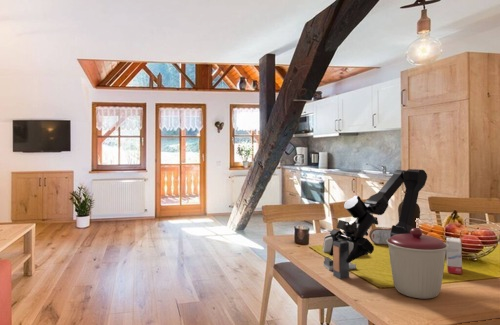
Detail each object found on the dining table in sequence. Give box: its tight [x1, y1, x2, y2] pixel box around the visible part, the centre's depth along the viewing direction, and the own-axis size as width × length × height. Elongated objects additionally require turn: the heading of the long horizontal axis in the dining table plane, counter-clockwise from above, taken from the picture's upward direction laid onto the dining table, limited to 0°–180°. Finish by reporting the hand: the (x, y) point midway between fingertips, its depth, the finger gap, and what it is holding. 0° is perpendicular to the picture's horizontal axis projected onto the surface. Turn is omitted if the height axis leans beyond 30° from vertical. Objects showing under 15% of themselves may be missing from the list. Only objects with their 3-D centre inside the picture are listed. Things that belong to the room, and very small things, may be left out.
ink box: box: [445, 237, 463, 275], centre depth 131 cm, size 9×5×12 cm, turn 150°
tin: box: [368, 226, 392, 246], centre depth 170 cm, size 15×3×8 cm, turn 76°
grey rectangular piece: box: [323, 256, 357, 272], centre depth 137 cm, size 11×6×4 cm, turn 98°
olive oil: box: [397, 200, 421, 228], centre depth 181 cm, size 11×11×25 cm
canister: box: [386, 227, 449, 300], centre depth 111 cm, size 18×18×21 cm
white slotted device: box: [322, 232, 354, 254], centre depth 158 cm, size 17×5×10 cm, turn 81°
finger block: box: [332, 240, 350, 280], centre depth 126 cm, size 4×4×13 cm
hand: (338, 258), depth 126 cm, fingers open, 9 cm apart
